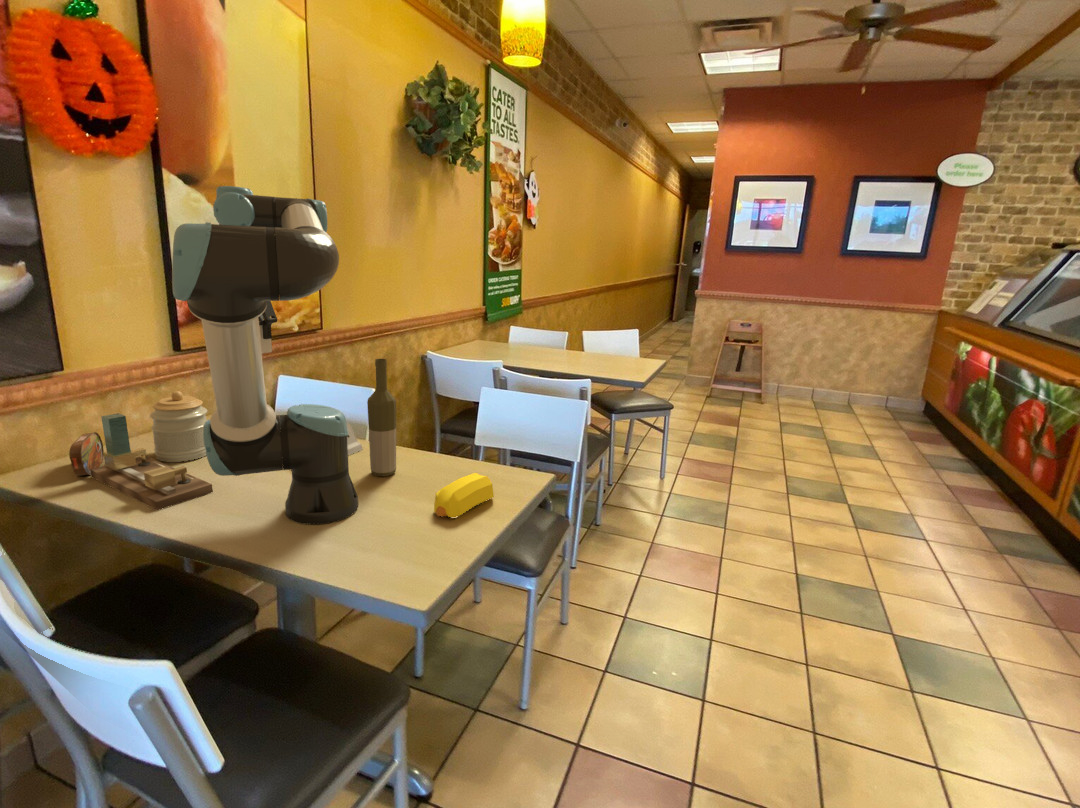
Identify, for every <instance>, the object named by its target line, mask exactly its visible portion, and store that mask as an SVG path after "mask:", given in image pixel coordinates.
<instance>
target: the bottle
mask: <svg viewBox="0 0 1080 808" xmlns="http://www.w3.org/2000/svg"><path fill="white" fill-rule="evenodd" d="M374 365H375V391H373V393H372V394H371V395H370V396H369V397H368V399H367V401H366V402H367V421H368V426H367V427H368V441H369V459H370V461H369V462H370V466H369V467H370V471H371V474H372V475H373V476H376V477H387V476H392V475H393V474H395V473H396V471H397V400H396V397H394V395H393V394H392V393H391V392H390V390H388V381H387V379H388V376H387V375H388V374H387V369H388V368H387V366H388V362H387V359H386V358H376V359H375V361H374Z"/></svg>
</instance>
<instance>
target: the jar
mask: <svg viewBox="0 0 1080 808" xmlns="http://www.w3.org/2000/svg"><path fill="white" fill-rule="evenodd" d="M203 404H204V402H203V401H202V400H201V399H198V398H197V397H195V396H191V395H184V394H183V392H182V391H178V390H177V391H173V392H172V393H171V395H170V396H169V397H164V398H161V399H159V400H158V401H157V402H155V403H153V404H152V408H153V410H154V411H152V412H151V413H150V414H149V418H151V419H152V426H151V427H150V428H151V430H152V435H153V436H152V437H153V443H154V450H153V451H154V455H155V456H156V459H157V461H160V460H161V461H160V462H164V461H166V463H182V462H181V461H184V462H189V461H188V460H190V461H194V459H195V460H198V458H199V459H201V457H202V458H204V457H207V456H206V449H205V445H204V438H203V428H204V424H205V422H206V421H208V420H209V419H207V417H206V414H208V409H207V408H206V407H204V406H202V405H203Z"/></svg>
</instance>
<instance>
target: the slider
mask: <svg viewBox="0 0 1080 808" xmlns="http://www.w3.org/2000/svg"><path fill="white" fill-rule="evenodd" d="M101 423H102V429H103V437H104V442H105V449H106V451H104V452H103V454H104V458H103V462H104V466H108V467H110V468H112V469H114V470H118V469H121V468H125V467H129V466H133V465H136V459H135V458H137V457H141V460H142V463H145V462H146V457H145V456H146V454H147V449H146V448H144V447H142V448H138V449H133V450H131V444H130V438H129V430H128V424H127V417H126V415H125V414H122V413H118V412H117V413H112V414H108V415H107V414H106V415H101Z"/></svg>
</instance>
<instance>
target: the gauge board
mask: <svg viewBox="0 0 1080 808" xmlns="http://www.w3.org/2000/svg"><path fill="white" fill-rule="evenodd" d="M145 457H146V462H145V463H142V460H141V456H137V457H135V459H136V465H133V466H129V467H125V468H121V469H118V470H114V469H112V468H110V467H108V466H106V465H103V466H99V467H98V468H94V469H90V470H91V475H90V476H91V478H92V477H93V478H92V479H94V478H95V479H94V480H96V479H97V480H96V481H98V480H99V481H98V482H100V481H101V482H100V483H102V482H103V483H102V484H104V483H105V485H106V484H107V486H108V485H109V486H108V487H110V486H111V487H110V488H112V487H113V489H114V488H115V489H114V490H116V489H117V490H116V491H118V490H119V491H118V492H120V493H122V494H124V495H125V496H128V497H130V498H133V499H134V500H136V501H138V502H140V503H142V504H144V505H146V506H148V507H150V508H151V509H154V510H156V511H160V510H163V509H166V508H169V507H171V505H172V506H175V505H177V504H180V503H181V504H182V503H184V502H188V501H191V500H194V499H195V498H196V497H197V498H199V496H200V497H202V495H203V496H206V495H209V494H212V493H214V491H213V490H214V489H213V484H212V483H210V482H208V481H205V480H203V479H200V478H198V477H197V476H193V475H192V474H189V473H188V469H187V467H186V466H184V465H182V466H179V467H176V468H175V467H172V466H170V465H168V464H165V463H163V462H162V461H159V460H155V459H154V458H151V457H149V456H147V455H145ZM211 492H212V493H211ZM208 493H209V494H208ZM205 494H206V495H205ZM187 500H188V501H187ZM168 506H169V507H168ZM162 508H163V509H162ZM159 509H160V510H159Z"/></svg>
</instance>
